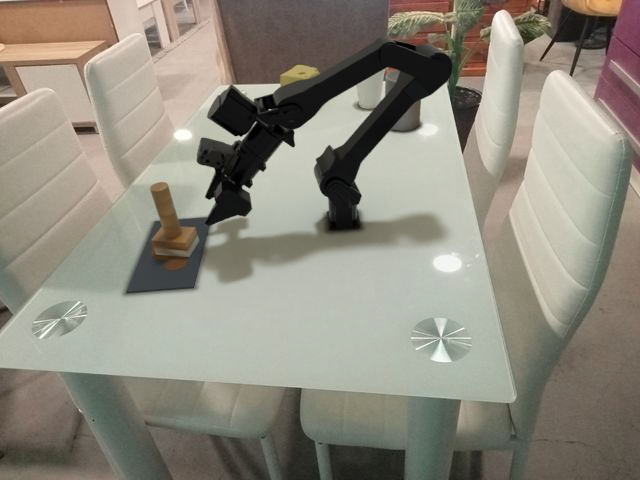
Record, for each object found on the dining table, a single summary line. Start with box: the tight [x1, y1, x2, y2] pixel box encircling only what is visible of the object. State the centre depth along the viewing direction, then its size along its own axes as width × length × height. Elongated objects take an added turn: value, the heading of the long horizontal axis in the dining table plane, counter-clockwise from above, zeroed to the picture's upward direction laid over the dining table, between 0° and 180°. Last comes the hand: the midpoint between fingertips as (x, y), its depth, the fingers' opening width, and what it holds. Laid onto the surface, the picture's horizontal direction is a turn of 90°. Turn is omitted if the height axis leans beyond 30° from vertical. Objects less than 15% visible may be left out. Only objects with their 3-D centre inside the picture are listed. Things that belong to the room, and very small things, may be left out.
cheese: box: [279, 64, 321, 87], centre depth 149 cm, size 10×11×10 cm
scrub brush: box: [149, 181, 199, 257], centre depth 90 cm, size 7×5×14 cm
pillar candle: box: [384, 69, 422, 132], centre depth 129 cm, size 10×10×15 cm
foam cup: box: [355, 68, 387, 110], centre depth 143 cm, size 10×9×13 cm
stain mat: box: [125, 216, 210, 294], centre depth 93 cm, size 22×12×1 cm, turn 2°
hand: (206, 210), depth 91 cm, fingers open, 9 cm apart
